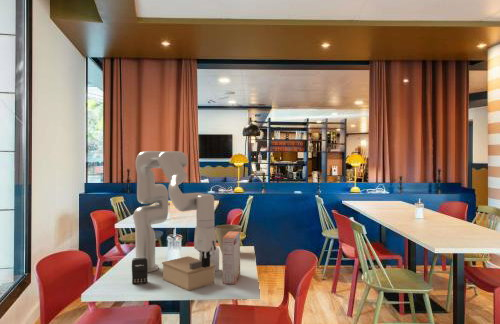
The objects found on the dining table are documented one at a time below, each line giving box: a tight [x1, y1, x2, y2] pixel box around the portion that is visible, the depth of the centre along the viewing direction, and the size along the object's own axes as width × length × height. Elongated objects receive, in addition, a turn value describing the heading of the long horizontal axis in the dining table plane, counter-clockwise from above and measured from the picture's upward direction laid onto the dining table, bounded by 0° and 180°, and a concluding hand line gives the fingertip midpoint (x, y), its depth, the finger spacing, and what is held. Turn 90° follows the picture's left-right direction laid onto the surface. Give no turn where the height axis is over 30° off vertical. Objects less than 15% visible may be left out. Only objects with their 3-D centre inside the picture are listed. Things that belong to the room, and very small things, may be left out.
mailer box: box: [162, 264, 215, 292], centre depth 166 cm, size 20×14×7 cm
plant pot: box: [214, 224, 242, 253], centre depth 214 cm, size 15×15×16 cm
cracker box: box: [221, 231, 241, 285], centre depth 169 cm, size 14×6×21 cm, turn 171°
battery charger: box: [131, 256, 149, 285], centre depth 164 cm, size 7×4×11 cm, turn 103°
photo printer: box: [198, 246, 220, 272], centre depth 181 cm, size 10×4×12 cm, turn 123°
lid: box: [161, 255, 215, 274], centre depth 166 cm, size 21×15×3 cm
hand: (205, 266), depth 155 cm, fingers closed
